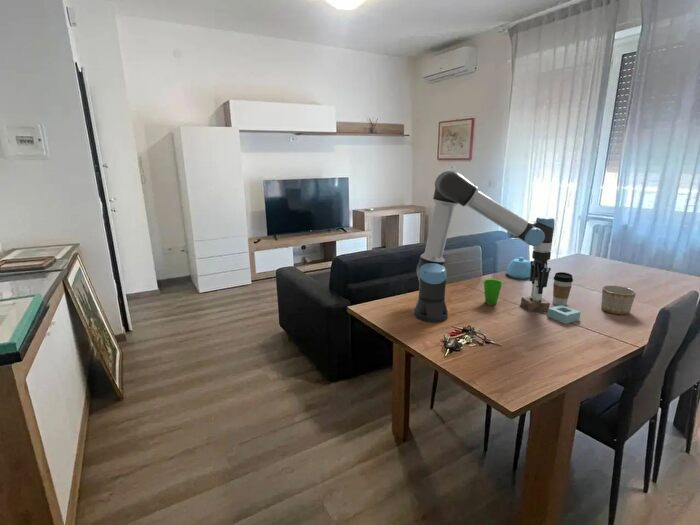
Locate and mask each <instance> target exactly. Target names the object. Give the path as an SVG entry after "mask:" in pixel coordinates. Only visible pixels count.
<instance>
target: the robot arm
mask: <svg viewBox="0 0 700 525" xmlns="http://www.w3.org/2000/svg"><path fill="white" fill-rule="evenodd" d="M434 188H435V189H434V193H433V198H432V200H433V202H434V203H435V204H434V208H433V213H432V217H431V218H432V219H431V221H430V226H429V231H428V234H427V235H428V236H427V240H426V245H425V249H424V252H423V253H421V255H420V256H419V261H418V263H417V266H416V276H417V279H418V282H419V283H418V299H417V302H416V305H415V308H414V310H413V311H414V312H413V315H414V317H415V318H416V319H418V320H420V321H424V322H427V323H428V322H429V323H438V322H439V323H440V322H444V321H446V320H447V319H448V316H449V315H448V314H449V311H448V307H447V305H446V298H445V297H446V287H447V286H446V285H447V284H446V283H447V282H446V281H447V269H446V267H445V266H444V265H445V262H446V259H445V258H444V252H445V246H446V243H447V239H448V234H449V230H450V226H451V221H452V218H453V213H454V208H455V207H456V206H457V205H460V206H462V207H468V208H470V209H471V210H473V211H475V212H477V213H478V214H479V215H481V216H483V217H484V218H486V219H488V220H489V221H490V222H492V223H494V224H496V225H497V226H498V227H500V228H502V229H504V230H505V231H507V232H506V234H507V237H508V238H510V239H519V240H521V241H523V243H526V244H527V245H528V246H531V247H532V256H531V258H532V259H533V260H529V262H530V264H531V269H530V278H529V282H531V294H530V297H533V290H534V282H535V277H538V286H536V296H535V300H541V299H542V298H543V291H544V288H547V287H548V281H549V276H550V273H551V270H552V268H551V267H549V266H548V261H550V260H551V256H552V255H551V254H552V253H551V251H552V247H553V239H554V232H555V224H556V223H555V222H556V221H555V218H554V217H551V216H538V217H536V220H535V221H527V220H526V219H524V218H522V217H521V216H519V215H518V214H516V213H514V212H513V211H511V210H510V209H509V208H507V207H506V206H503V205H502V204H500V203H499V202H497V201H496V200H494V199H493V198H491V197H489V195H486V194H484V193H483V192H481V191H479V189H478V186H477V185H475V184H473V183H472V182H471V181H470V180H469V179H467V178H466V177H465V176H463V174H461V173H459V172H456V171H454V170H447V171H443V172H442V173H440V174H438V176H437V177H436V179H435V183H434Z"/></svg>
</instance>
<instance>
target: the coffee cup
mask: <svg viewBox="0 0 700 525" xmlns="http://www.w3.org/2000/svg"><path fill="white" fill-rule="evenodd" d="M573 281H574V278H573V275H572V274H571V273H568V272H564V271H563V272H562V271H558V272H556V273H554V277H553V284H552V285H553V291H552V292H553V293H552V294H553V295H552V296H553V297H552V304H554V305H555V306H560V305H564V306H566V305H567V304H568V300H569V296H570V293H571V289H572V283H573Z"/></svg>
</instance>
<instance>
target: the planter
mask: <svg viewBox="0 0 700 525" xmlns="http://www.w3.org/2000/svg"><path fill="white" fill-rule="evenodd" d="M601 292H602V294H601V303H600V304H601V309H602V310H603V311H604V312H606V313H608V312H609V313H608V314H612V313H613V315H617V314H620V315H619V316H624V314H626V315H628V314H630V312H631V310H632V306H633V304H634V300H635V298H636V293H637V291H636V290H634V289H632V288H629V287H624V286H621V285H612V284H611V285H603V287H602V291H601Z"/></svg>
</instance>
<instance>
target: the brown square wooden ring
mask: <svg viewBox="0 0 700 525" xmlns="http://www.w3.org/2000/svg"><path fill="white" fill-rule="evenodd" d="M532 298H533V297H531V296H521V300H520V305H521V307H524V308H525V309H526V310H527V311H529V312H548V308H551V307H550V304H551V302H549V301H547V300H546V299H544V298H543V297H542V299H541V300H539V302H533V301H532Z"/></svg>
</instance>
